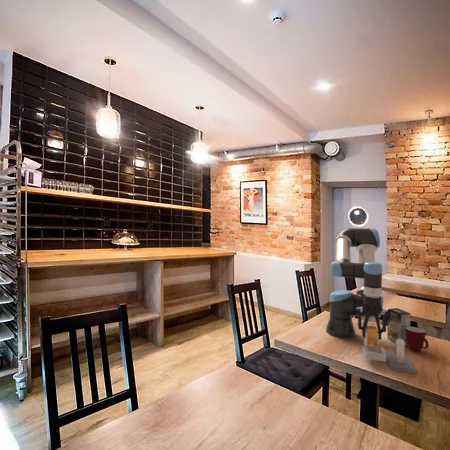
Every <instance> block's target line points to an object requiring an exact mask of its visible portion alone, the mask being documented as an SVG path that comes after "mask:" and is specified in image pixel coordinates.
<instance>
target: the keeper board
mask: <svg viewBox="0 0 450 450" xmlns="http://www.w3.org/2000/svg"><path fill="white" fill-rule="evenodd" d="M395 344H396V345H395V348H396V349H395V352H392V351H391V352H390V351H385V353H386V363H387V365H388V367H389V369H390V370H391V371H397V372H404V373H411V374H416V368H415V367H414V365H413V363H412V362H411V360H410V359H409V357H408V356H407V354H405V346H406V345H405V342H404V340H402V339H397V340H396V343H395Z"/></svg>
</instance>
